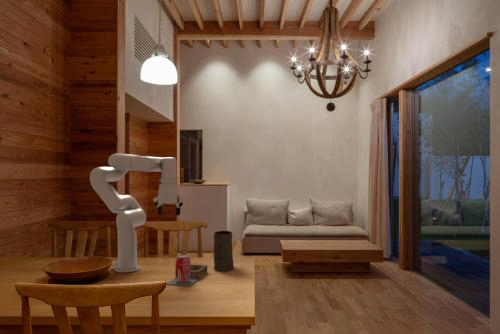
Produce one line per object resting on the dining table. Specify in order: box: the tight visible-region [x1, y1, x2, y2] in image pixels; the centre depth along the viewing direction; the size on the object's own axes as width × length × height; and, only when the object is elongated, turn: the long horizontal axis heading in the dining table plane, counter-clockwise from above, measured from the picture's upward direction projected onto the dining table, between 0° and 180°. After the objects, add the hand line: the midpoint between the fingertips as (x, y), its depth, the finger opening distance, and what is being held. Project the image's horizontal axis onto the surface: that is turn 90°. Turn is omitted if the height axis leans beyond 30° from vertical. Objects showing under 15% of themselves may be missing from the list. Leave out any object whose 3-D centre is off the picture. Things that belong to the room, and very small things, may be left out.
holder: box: [190, 263, 208, 281], centre depth 187 cm, size 12×12×4 cm
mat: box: [166, 277, 199, 288], centre depth 175 cm, size 12×10×1 cm
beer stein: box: [213, 230, 235, 273], centre depth 201 cm, size 15×11×20 cm
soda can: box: [174, 254, 191, 283], centre depth 175 cm, size 7×7×12 cm
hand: (169, 215), depth 189 cm, fingers open, 9 cm apart
